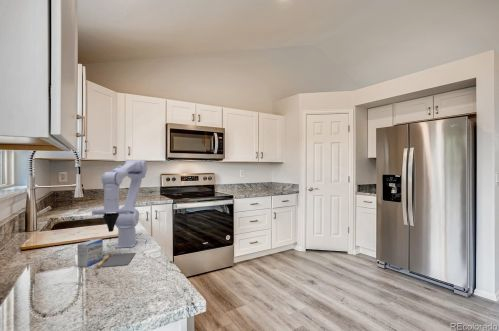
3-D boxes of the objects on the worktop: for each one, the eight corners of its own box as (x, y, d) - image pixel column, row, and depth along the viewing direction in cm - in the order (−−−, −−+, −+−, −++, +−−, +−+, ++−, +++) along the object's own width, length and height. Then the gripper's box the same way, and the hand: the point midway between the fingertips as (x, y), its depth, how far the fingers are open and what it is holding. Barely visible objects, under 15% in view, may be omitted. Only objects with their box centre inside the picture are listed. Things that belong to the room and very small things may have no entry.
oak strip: (108, 256, 106) (108, 253, 106) (111, 256, 107) (111, 253, 107) (96, 268, 93) (96, 265, 93) (99, 268, 93) (99, 265, 93)
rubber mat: (113, 255, 108) (113, 254, 108) (135, 253, 110) (135, 252, 110) (102, 267, 94) (102, 266, 94) (127, 265, 96) (127, 264, 96)
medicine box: (86, 267, 94) (87, 244, 94) (76, 266, 95) (77, 243, 95) (103, 260, 102) (103, 238, 102) (93, 259, 103) (93, 238, 103)
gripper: (89, 200, 102) (88, 234, 102) (127, 199, 106) (127, 232, 105) (95, 199, 109) (94, 230, 109) (131, 198, 113) (130, 228, 112)
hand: (111, 231), depth 107 cm, fingers closed
